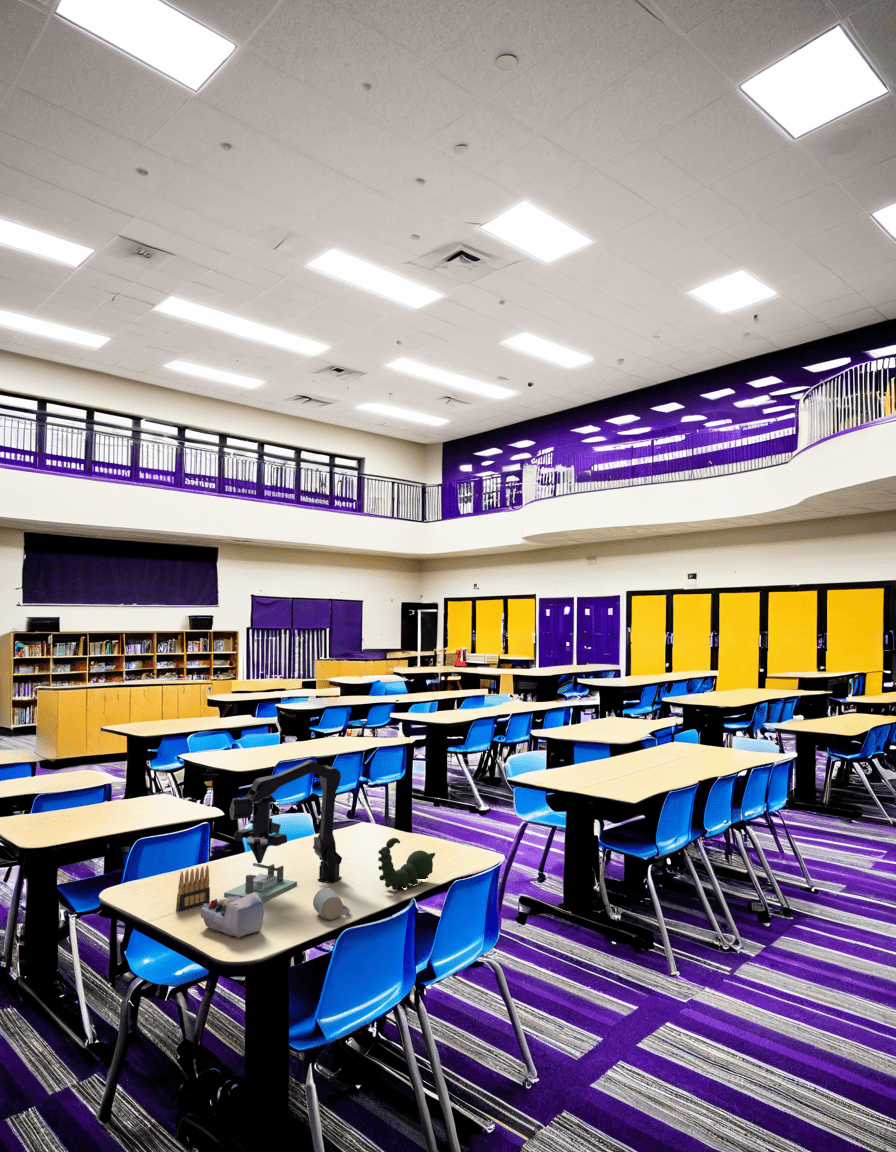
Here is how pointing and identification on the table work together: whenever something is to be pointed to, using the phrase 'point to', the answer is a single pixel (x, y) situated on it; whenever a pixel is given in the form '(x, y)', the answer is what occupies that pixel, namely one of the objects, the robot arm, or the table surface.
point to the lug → (249, 883)
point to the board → (265, 894)
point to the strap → (264, 866)
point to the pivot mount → (279, 872)
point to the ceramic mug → (329, 904)
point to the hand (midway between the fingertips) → (259, 863)
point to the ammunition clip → (193, 890)
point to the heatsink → (264, 882)
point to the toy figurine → (404, 867)
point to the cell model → (234, 915)
